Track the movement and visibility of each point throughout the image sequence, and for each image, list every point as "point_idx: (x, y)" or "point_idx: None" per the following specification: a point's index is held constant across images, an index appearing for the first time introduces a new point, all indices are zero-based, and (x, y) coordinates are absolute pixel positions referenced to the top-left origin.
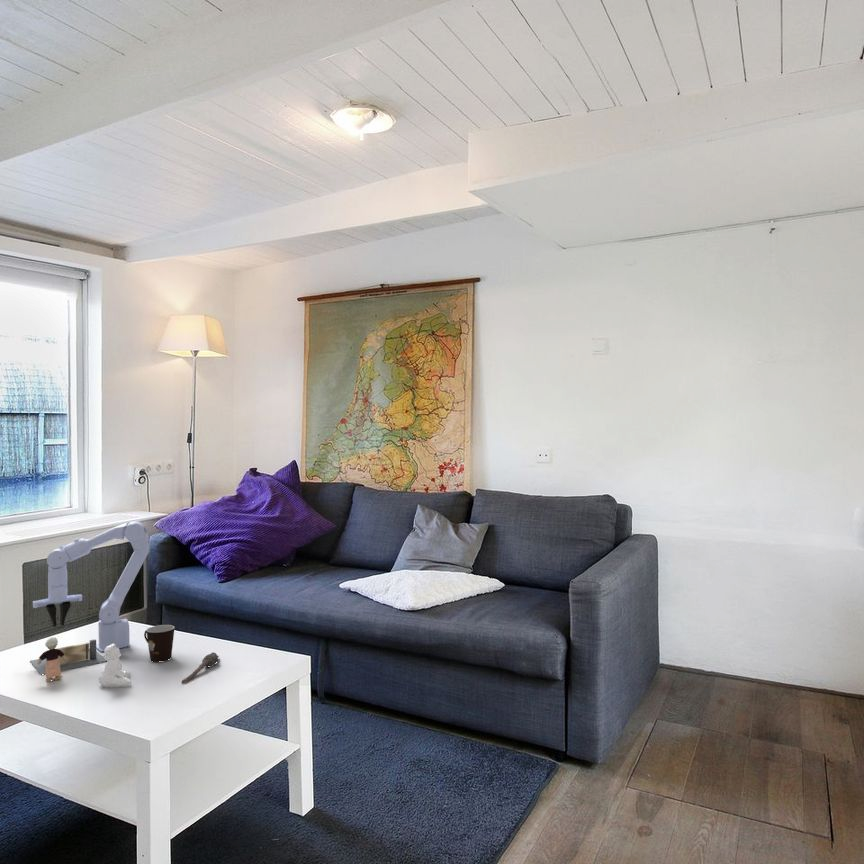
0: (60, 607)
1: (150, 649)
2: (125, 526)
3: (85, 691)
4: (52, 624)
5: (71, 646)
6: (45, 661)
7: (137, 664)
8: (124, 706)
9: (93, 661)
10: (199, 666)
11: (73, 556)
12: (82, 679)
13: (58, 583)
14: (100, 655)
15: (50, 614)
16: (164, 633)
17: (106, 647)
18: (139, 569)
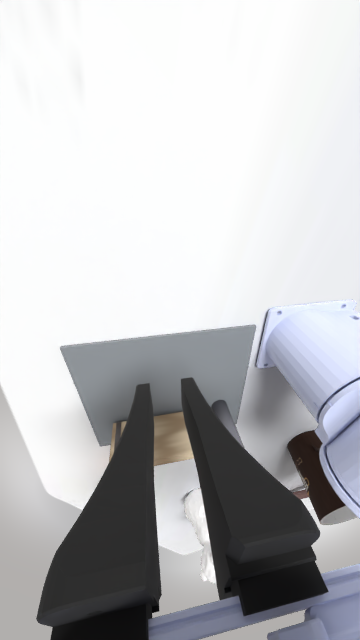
0: (216, 505)
1: (299, 472)
2: None
3: (162, 501)
4: (135, 391)
5: (175, 459)
6: (110, 375)
7: (265, 448)
8: (188, 527)
9: None
10: (302, 497)
11: None
12: (169, 473)
13: None
14: (241, 392)
15: (119, 465)
16: (334, 518)
17: (208, 576)
18: None
